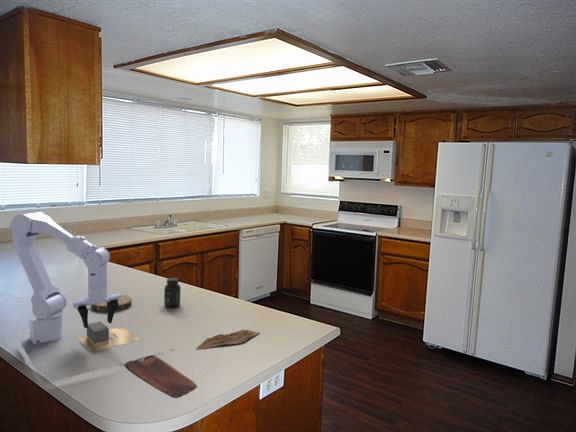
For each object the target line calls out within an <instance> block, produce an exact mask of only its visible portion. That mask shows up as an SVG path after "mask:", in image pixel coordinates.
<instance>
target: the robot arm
mask: <svg viewBox="0 0 576 432" xmlns="http://www.w3.org/2000/svg"><path fill="white" fill-rule="evenodd" d="M9 228H10V230H11V232H12V244H13V246H14V249H15V251H16V253H17V256H18V258H19V260H20V262H21V264H22V268H23V269H24V271H25V274H26V276H27V278H28V282H29V284H30V285H31V287H32V291H33V294H32V296H31V298H30V303H31V304H32V305H31V307H32V308H31V309H32V314H33V315H34V316H35V318H34V317H33V318H30V320H29V342H32V344H33V345H36V344H41V343H47V342H53V341H57V340H60V339H61V338H63V313H64V311H63V310H64V309H65V308H66V306H67V303H68V302H67V298H66V297H65V295H64V294H63V293H62V292H61V291H60V288H59V287H57V286H54V285H53V284H52V282H51V279H50V277H49V275H48V273H47V269H46V268H45V266H44V264H43V261H42V259H41V257H40V254H39V251H38V250H37V247H36V244H35V241H36V239H37V237H38V236H39V235H40V234H44V233H45V234H47V235H48V236H50V237H52V238H53V239H56V240H57V241H59V242H61V243H63V244H65V245H66V249H67V251H69V252H70V253H72V254H73V255H74V256H76V257H78V258H80V259H81V260H82V261H83V263H84V265H85V266H86V268H87V297H85V298H81V299H77V300H73V302H72V305H73V308H74V309H77V311H78V313H79V316H80V318H81V321H82V324H83V325H82V326H83V328H85V329H87V328H88V324H89V322H88V321H89V320H88V317H89V309H88V306H91V305H94V304H100V303H106V302H107V311H108V312H107V322H108V324H112V323H113V319H114V315H115V311H116V309H117V307H118V305H119V302H117V301H121V295H122V294H121V295H120V293H114V294H113V293H112V295H111V294H108V262H110V258H111V254H110V252H109V250H108V249H106V248H105V247H98V245H97V244H93V243H91V242H90V241H89V240H87V239H86V237H85V236H84V235H75V236H74V235H73V234H71V233H70V232H69V231H67V230H65V229H64V228H63V227H61V226H60V225H59V224H58V223H56V222H55V221H54V220H52V218H51V217H50V216H49V215H46V213H44V212H43V211H35V212H30V213H23V214H22V213H19V214H16V215H14V216H13V218H12V219H11V221H10V224H9ZM116 312H117V311H116Z"/></svg>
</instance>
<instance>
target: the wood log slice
mask: <svg viewBox="0 0 576 432" xmlns="http://www.w3.org/2000/svg"><path fill="white" fill-rule="evenodd" d="M112 294H113V293H112ZM112 294H110V295H112ZM119 294H120V293H119ZM120 295H121V301H117V302H119V305H118V307H117V309H116V311H115V312H121V311H124V310H126V309H127V310H128V309H129V308H131V306H132V301H133V299H132V297H131V296H130V295H127V294H122V293H121V294H120ZM90 306H91V307H90V308H91V310H93V311H94V312H98V313H108V311H107V302H106V303H100V304H94V305H90Z"/></svg>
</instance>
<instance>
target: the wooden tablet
mask: <svg viewBox="0 0 576 432" xmlns="http://www.w3.org/2000/svg"><path fill="white" fill-rule="evenodd" d="M125 366H126V368H128V369H129V370H130V371H131V372H132V373H133V374H135V375H137V376H138V377H140V378H141V379H142V380H144V381H145V382H148V383H149V384H151V385H152V386H154V387H156V388H157V389H158V390H160V391H162V392H164V393H166V394H167V395H169V396H172V397H175V398H177V397H182V396H184V395H188V394H189V393H190V392H193V391H195V390H196V389H197V388H198V386H197V384H196V383H195V382H194V381H193V380H192V379H190V378H189V377H187V376H186V375H184V374H183V373H181V372H180V371H179V370H177V369H176V368H175V367H173V366H172V365H170V364H169V363H167V362H166V361H164V360H162V359H161V358H160V357H157V356H156V355H154V354H153V355H149V356H146V357H144V359H142V360H132V361H129V362H126V363H125Z"/></svg>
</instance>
